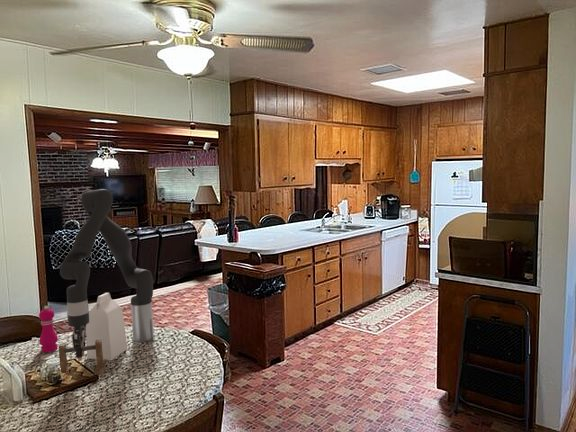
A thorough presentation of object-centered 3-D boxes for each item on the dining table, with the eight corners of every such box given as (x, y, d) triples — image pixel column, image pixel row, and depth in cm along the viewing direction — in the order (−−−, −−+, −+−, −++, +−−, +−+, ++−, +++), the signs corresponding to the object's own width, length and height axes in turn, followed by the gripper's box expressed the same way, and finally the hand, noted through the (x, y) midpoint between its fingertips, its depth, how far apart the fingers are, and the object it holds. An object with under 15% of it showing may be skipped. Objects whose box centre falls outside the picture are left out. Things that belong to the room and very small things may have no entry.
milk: (111, 359, 182) (107, 299, 180) (87, 358, 184) (82, 298, 182) (127, 348, 194) (123, 291, 191) (104, 347, 196) (100, 290, 194)
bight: (84, 354, 173) (83, 336, 173) (81, 360, 168) (80, 342, 167) (80, 355, 173) (79, 337, 172) (77, 361, 167) (76, 342, 167)
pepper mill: (52, 352, 191) (49, 308, 189) (36, 353, 191) (33, 308, 190) (61, 346, 198) (58, 303, 197) (46, 346, 199) (42, 303, 197)
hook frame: (106, 364, 178) (104, 335, 177) (102, 374, 168) (100, 344, 167) (63, 369, 174) (60, 340, 173) (56, 381, 164) (54, 350, 163)
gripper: (85, 316, 163) (88, 360, 164) (91, 305, 177) (94, 346, 178) (63, 318, 161) (66, 363, 162) (71, 307, 175) (74, 348, 176)
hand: (81, 354), depth 170 cm, fingers closed on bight, 5 cm apart
